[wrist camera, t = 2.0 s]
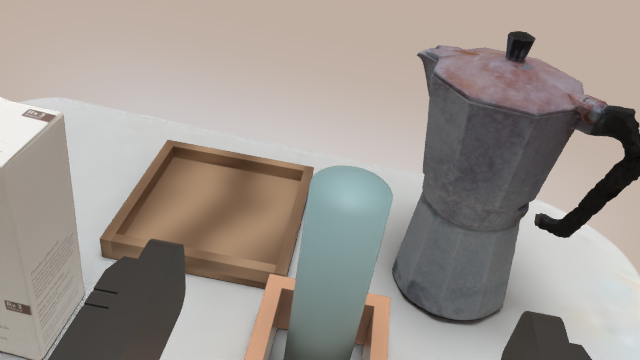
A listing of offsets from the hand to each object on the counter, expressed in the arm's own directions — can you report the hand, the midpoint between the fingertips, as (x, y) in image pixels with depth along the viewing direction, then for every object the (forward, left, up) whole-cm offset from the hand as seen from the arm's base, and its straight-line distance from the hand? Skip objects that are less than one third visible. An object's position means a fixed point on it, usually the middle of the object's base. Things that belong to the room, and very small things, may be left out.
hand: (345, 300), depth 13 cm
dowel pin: (0, +12, -21) cm, 24 cm away
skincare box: (-20, +12, -21) cm, 32 cm away
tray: (-10, +25, -21) cm, 34 cm away
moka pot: (+9, +23, -21) cm, 33 cm away
